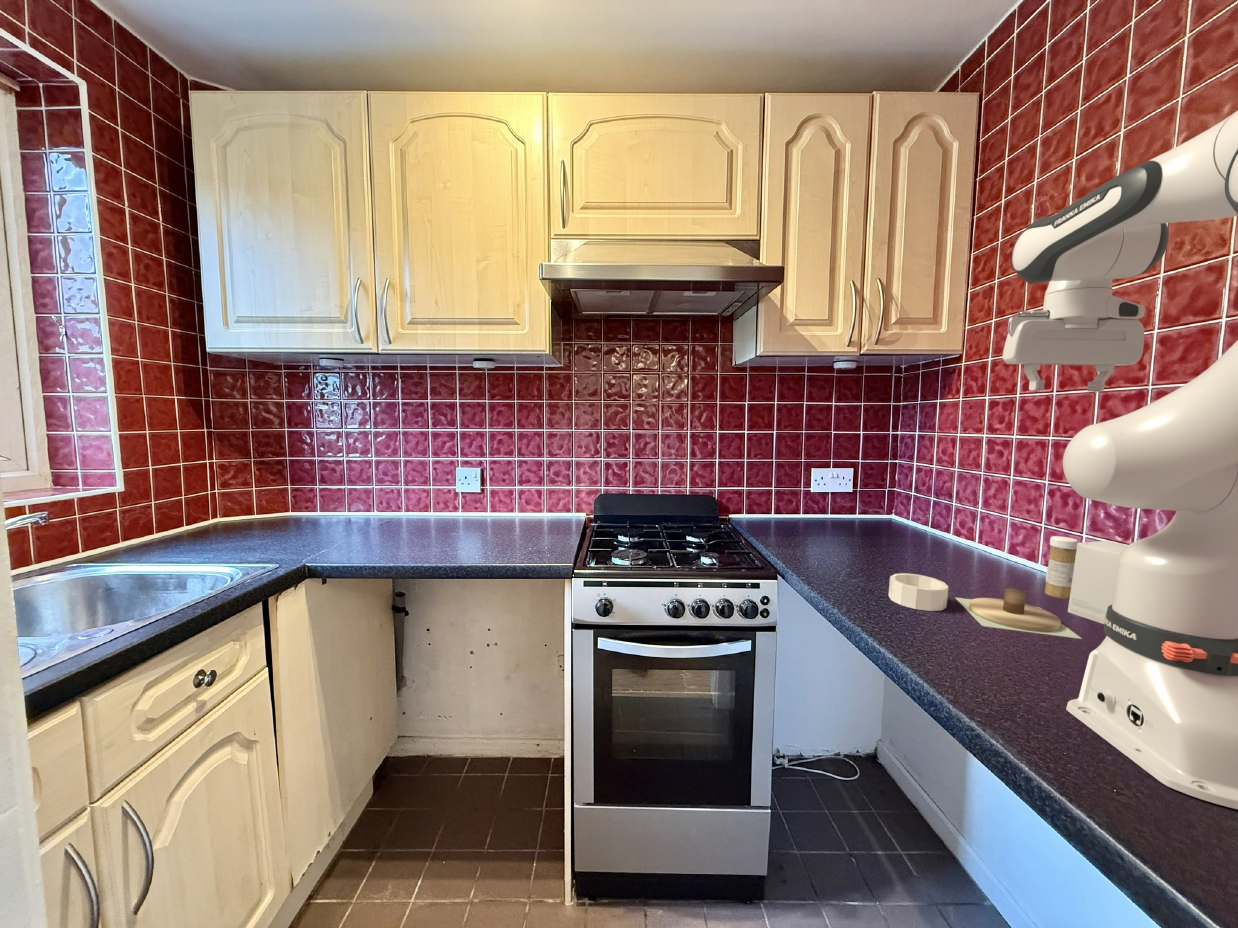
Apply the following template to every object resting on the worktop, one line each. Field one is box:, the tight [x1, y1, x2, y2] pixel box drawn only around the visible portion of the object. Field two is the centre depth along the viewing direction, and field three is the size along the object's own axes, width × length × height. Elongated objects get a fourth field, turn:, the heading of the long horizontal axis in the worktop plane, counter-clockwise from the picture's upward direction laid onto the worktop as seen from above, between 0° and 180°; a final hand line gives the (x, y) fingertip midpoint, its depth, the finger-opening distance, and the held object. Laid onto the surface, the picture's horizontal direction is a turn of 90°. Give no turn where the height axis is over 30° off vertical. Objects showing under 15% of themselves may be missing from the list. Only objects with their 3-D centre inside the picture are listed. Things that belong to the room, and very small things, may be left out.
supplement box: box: [1067, 540, 1129, 625], centre depth 98 cm, size 9×9×15 cm
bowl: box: [888, 572, 949, 612], centre depth 105 cm, size 10×10×5 cm
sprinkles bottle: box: [1044, 535, 1079, 600], centre depth 110 cm, size 5×5×13 cm
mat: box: [955, 597, 1083, 640], centre depth 98 cm, size 15×15×1 cm
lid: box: [969, 587, 1062, 632], centre depth 98 cm, size 14×14×5 cm
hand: (1065, 391), depth 90 cm, fingers open, 8 cm apart
